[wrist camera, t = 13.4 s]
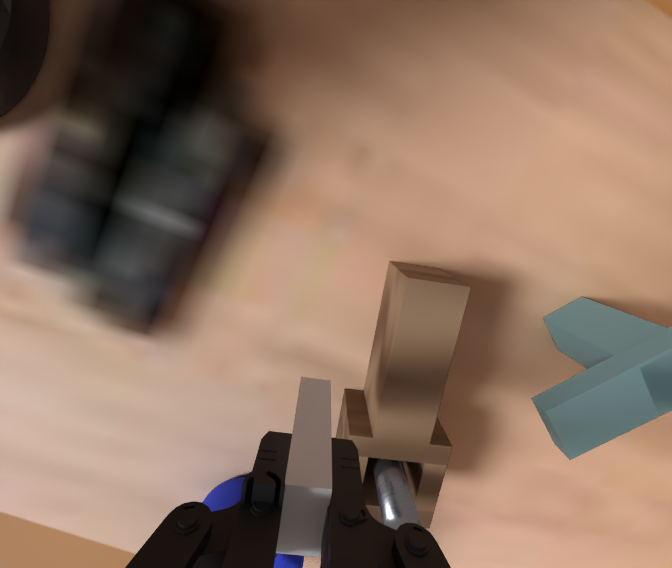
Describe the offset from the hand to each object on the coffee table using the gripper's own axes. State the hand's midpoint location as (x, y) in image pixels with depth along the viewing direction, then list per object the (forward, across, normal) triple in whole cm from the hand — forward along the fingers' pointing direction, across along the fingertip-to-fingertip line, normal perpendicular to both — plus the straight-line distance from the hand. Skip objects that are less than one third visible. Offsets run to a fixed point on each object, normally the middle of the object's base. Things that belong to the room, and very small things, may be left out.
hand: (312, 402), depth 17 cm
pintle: (+7, +6, -6) cm, 11 cm away
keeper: (+7, +16, +3) cm, 18 cm away
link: (+7, +6, -1) cm, 9 cm away
